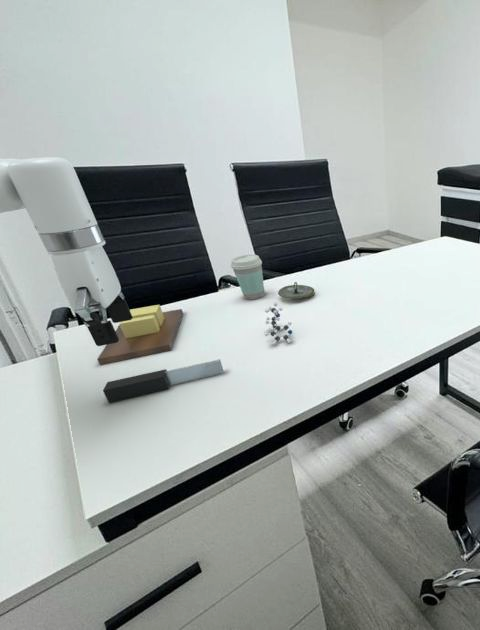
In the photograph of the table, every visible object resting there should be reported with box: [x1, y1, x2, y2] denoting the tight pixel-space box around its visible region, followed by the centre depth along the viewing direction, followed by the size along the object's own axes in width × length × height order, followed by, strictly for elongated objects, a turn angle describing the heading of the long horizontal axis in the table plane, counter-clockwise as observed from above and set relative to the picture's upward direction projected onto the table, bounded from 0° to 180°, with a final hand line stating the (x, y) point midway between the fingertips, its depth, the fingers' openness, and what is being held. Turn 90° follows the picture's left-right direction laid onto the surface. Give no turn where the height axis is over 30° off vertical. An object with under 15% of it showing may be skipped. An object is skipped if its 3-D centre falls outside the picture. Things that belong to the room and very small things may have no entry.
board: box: [96, 308, 184, 366], centre depth 97 cm, size 14×22×2 cm, turn 22°
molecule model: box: [264, 302, 293, 346], centre depth 93 cm, size 6×12×8 cm, turn 31°
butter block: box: [129, 304, 164, 326], centre depth 99 cm, size 7×5×4 cm
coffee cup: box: [230, 254, 265, 301], centre depth 116 cm, size 8×8×12 cm
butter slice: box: [119, 315, 160, 338], centre depth 94 cm, size 7×2×4 cm, turn 112°
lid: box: [277, 281, 315, 300], centre depth 115 cm, size 11×10×5 cm
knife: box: [102, 359, 225, 404], centre depth 77 cm, size 20×3×3 cm, turn 112°
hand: (116, 331), depth 70 cm, fingers open, 9 cm apart
